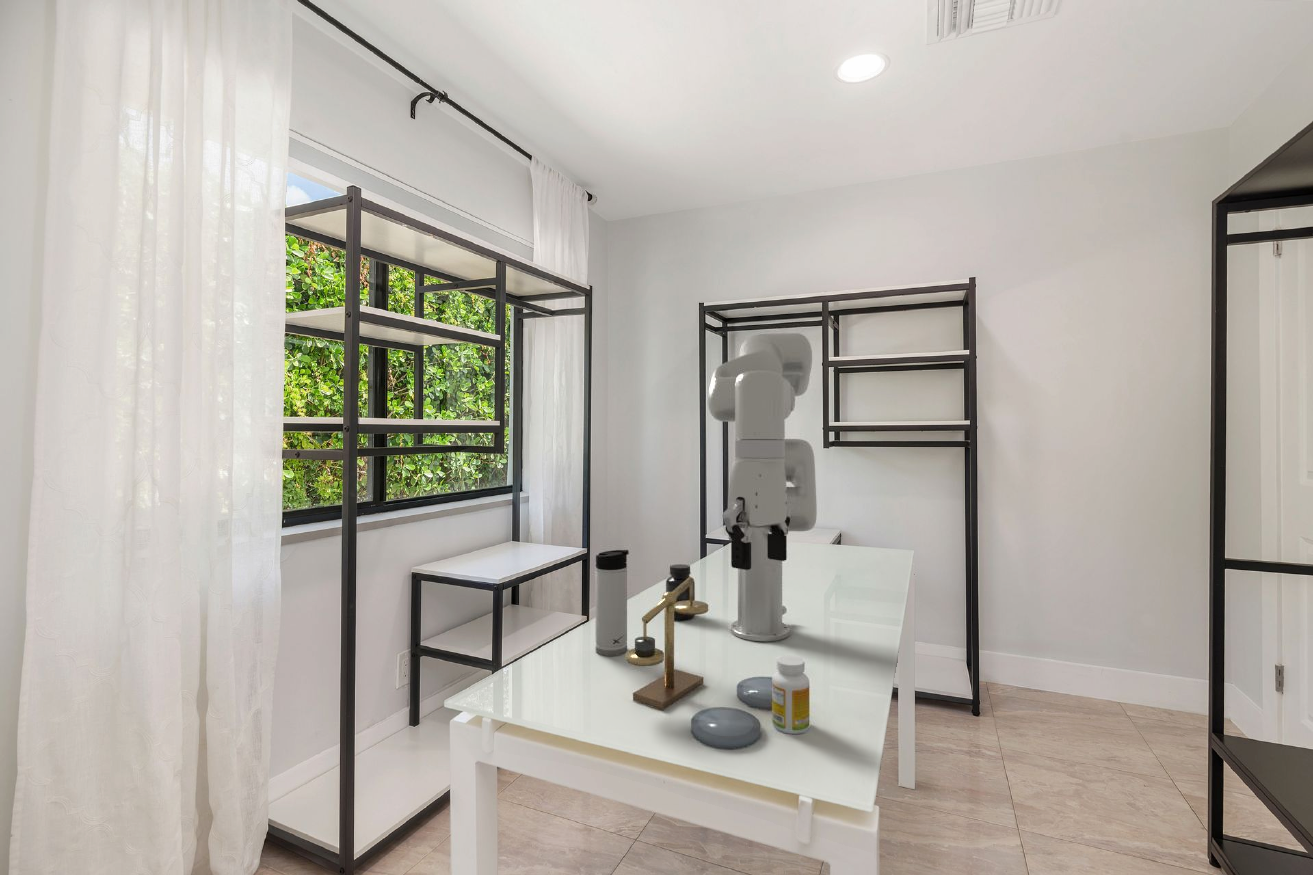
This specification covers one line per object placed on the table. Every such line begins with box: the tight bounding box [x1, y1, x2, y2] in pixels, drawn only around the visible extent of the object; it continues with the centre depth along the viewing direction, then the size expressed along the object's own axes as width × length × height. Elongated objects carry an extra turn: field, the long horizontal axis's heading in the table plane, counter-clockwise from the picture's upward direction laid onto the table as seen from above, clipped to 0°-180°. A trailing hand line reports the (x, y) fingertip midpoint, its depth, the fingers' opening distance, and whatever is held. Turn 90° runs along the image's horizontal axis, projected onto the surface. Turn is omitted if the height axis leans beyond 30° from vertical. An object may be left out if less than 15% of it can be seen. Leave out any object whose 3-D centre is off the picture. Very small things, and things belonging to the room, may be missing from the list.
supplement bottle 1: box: [665, 563, 696, 622], centre depth 140 cm, size 7×7×12 cm
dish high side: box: [736, 676, 772, 712], centre depth 97 cm, size 10×10×1 cm
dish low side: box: [690, 706, 762, 750], centre depth 86 cm, size 10×10×1 cm
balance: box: [625, 576, 709, 711], centre depth 99 cm, size 20×6×18 cm, turn 144°
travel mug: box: [594, 549, 630, 657], centre depth 118 cm, size 6×7×20 cm
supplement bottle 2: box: [771, 655, 811, 735], centre depth 87 cm, size 5×5×10 cm
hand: (759, 563), depth 91 cm, fingers open, 9 cm apart
